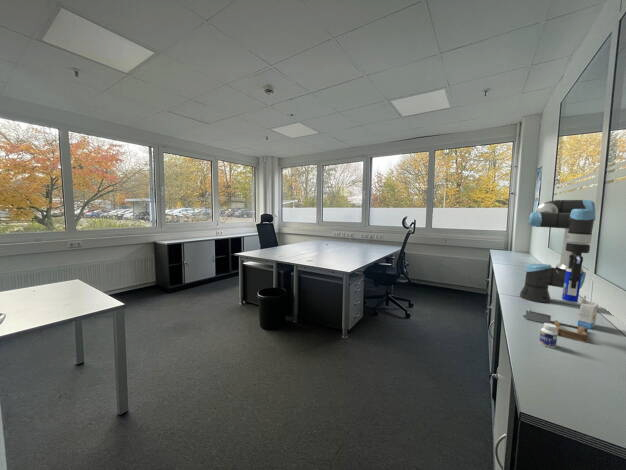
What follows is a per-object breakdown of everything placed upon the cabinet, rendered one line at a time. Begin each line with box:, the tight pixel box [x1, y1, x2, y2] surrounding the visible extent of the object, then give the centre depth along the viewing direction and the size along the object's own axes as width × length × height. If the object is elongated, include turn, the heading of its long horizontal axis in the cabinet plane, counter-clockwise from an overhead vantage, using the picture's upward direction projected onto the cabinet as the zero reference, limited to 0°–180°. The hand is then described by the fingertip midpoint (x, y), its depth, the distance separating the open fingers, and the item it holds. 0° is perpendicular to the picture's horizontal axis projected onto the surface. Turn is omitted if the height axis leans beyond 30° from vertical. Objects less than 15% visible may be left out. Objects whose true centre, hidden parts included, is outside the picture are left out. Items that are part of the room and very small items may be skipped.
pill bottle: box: [538, 323, 558, 349], centre depth 108 cm, size 5×5×9 cm
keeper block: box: [522, 314, 589, 343], centre depth 124 cm, size 17×23×3 cm
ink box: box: [577, 294, 599, 330], centre depth 129 cm, size 8×5×15 cm, turn 124°
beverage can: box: [561, 268, 582, 304], centre depth 117 cm, size 5×5×15 cm
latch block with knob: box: [524, 308, 552, 324], centre depth 132 cm, size 2×10×5 cm, turn 52°
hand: (570, 293), depth 117 cm, fingers closed on beverage can, 5 cm apart
